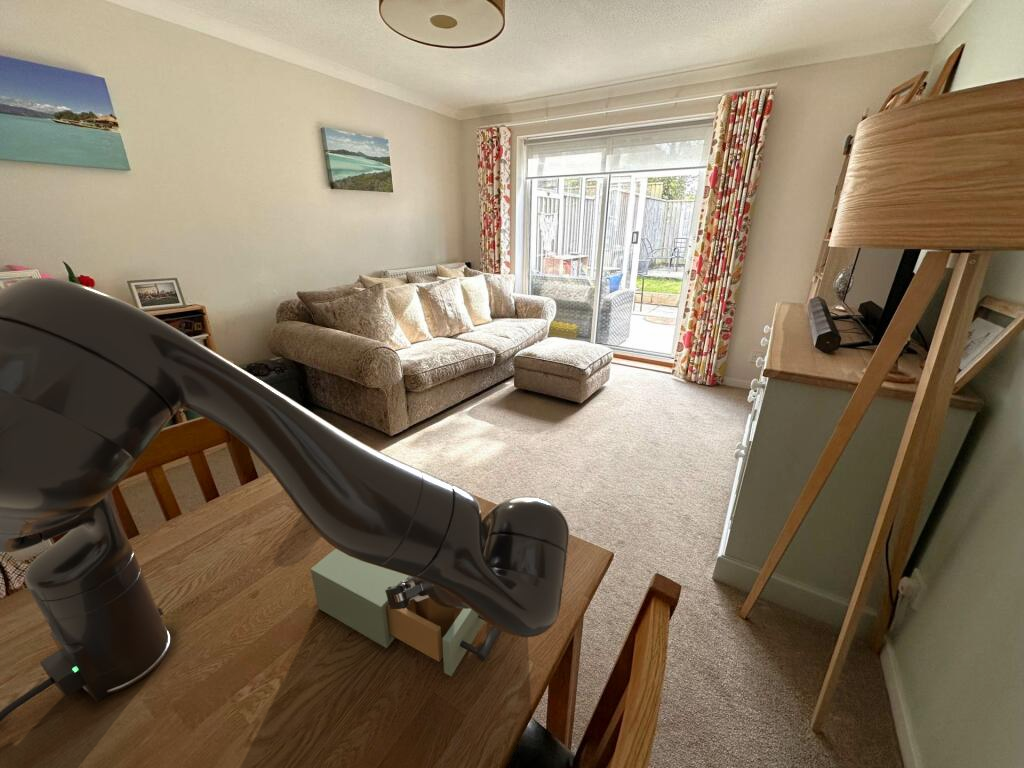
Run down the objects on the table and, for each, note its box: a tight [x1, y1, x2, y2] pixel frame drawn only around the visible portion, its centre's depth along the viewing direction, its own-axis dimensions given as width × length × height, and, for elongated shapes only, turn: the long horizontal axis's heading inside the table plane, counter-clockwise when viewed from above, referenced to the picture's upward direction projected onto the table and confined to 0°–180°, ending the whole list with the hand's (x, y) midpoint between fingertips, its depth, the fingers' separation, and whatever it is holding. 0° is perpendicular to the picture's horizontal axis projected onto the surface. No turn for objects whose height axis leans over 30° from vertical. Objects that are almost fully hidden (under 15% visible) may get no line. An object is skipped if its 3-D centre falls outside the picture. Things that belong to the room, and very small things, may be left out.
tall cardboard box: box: [415, 597, 455, 637], centre depth 60 cm, size 4×6×12 cm, turn 34°
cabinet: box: [309, 548, 409, 649], centre depth 67 cm, size 15×12×9 cm
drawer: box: [386, 584, 502, 677], centre depth 61 cm, size 18×10×7 cm, turn 64°
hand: (429, 577), depth 60 cm, fingers open, 8 cm apart
